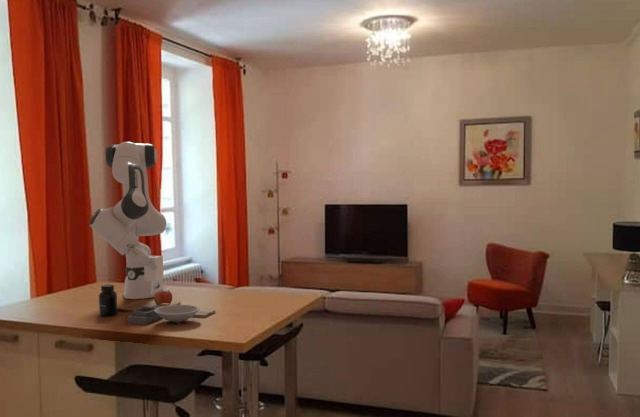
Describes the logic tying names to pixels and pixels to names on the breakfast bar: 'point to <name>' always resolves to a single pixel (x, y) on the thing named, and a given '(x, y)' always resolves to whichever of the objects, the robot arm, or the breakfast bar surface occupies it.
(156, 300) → the apple
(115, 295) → the supplement bottle
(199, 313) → the cork pad
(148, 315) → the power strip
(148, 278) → the block
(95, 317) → the breakfast bar surface
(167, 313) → the dish
